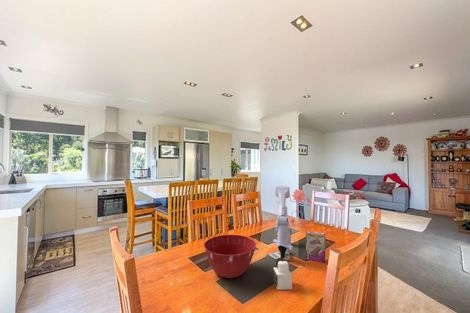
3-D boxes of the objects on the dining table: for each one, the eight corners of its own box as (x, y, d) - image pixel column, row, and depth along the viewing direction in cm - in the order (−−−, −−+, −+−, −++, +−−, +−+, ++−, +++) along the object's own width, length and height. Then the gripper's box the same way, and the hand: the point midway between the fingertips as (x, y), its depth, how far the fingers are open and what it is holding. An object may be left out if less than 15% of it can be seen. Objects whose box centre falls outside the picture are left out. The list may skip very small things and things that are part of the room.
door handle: (282, 250, 139) (282, 245, 139) (287, 250, 138) (287, 245, 139) (284, 259, 125) (284, 254, 125) (290, 259, 125) (290, 254, 125)
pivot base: (285, 251, 141) (285, 249, 141) (291, 254, 136) (291, 252, 136) (278, 253, 138) (278, 251, 138) (285, 256, 133) (285, 254, 133)
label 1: (273, 253, 136) (273, 252, 136) (280, 257, 130) (280, 256, 130) (268, 254, 134) (268, 254, 134) (276, 259, 128) (276, 258, 128)
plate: (278, 251, 140) (278, 251, 140) (287, 257, 132) (287, 256, 132) (265, 255, 134) (265, 254, 134) (275, 260, 127) (275, 260, 127)
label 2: (278, 252, 139) (278, 251, 139) (286, 256, 133) (286, 255, 133) (274, 253, 137) (274, 252, 137) (281, 257, 131) (281, 256, 131)
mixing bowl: (238, 294, 94) (238, 259, 94) (192, 275, 109) (192, 246, 110) (264, 268, 118) (264, 240, 118) (223, 256, 133) (223, 231, 133)
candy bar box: (305, 260, 128) (305, 233, 128) (305, 256, 132) (305, 230, 133) (325, 263, 124) (325, 235, 125) (324, 259, 129) (324, 232, 129)
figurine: (309, 229, 189) (309, 190, 191) (283, 224, 205) (283, 188, 207) (315, 226, 201) (314, 189, 203) (289, 221, 217) (289, 187, 219)
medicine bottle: (273, 281, 104) (273, 257, 105) (287, 281, 105) (286, 256, 105) (277, 290, 97) (277, 264, 97) (292, 289, 98) (292, 263, 98)
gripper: (269, 233, 131) (269, 255, 131) (287, 240, 119) (287, 264, 119) (277, 231, 135) (277, 252, 135) (295, 238, 123) (295, 261, 123)
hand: (282, 258), depth 127 cm, fingers closed, pressing on door handle
